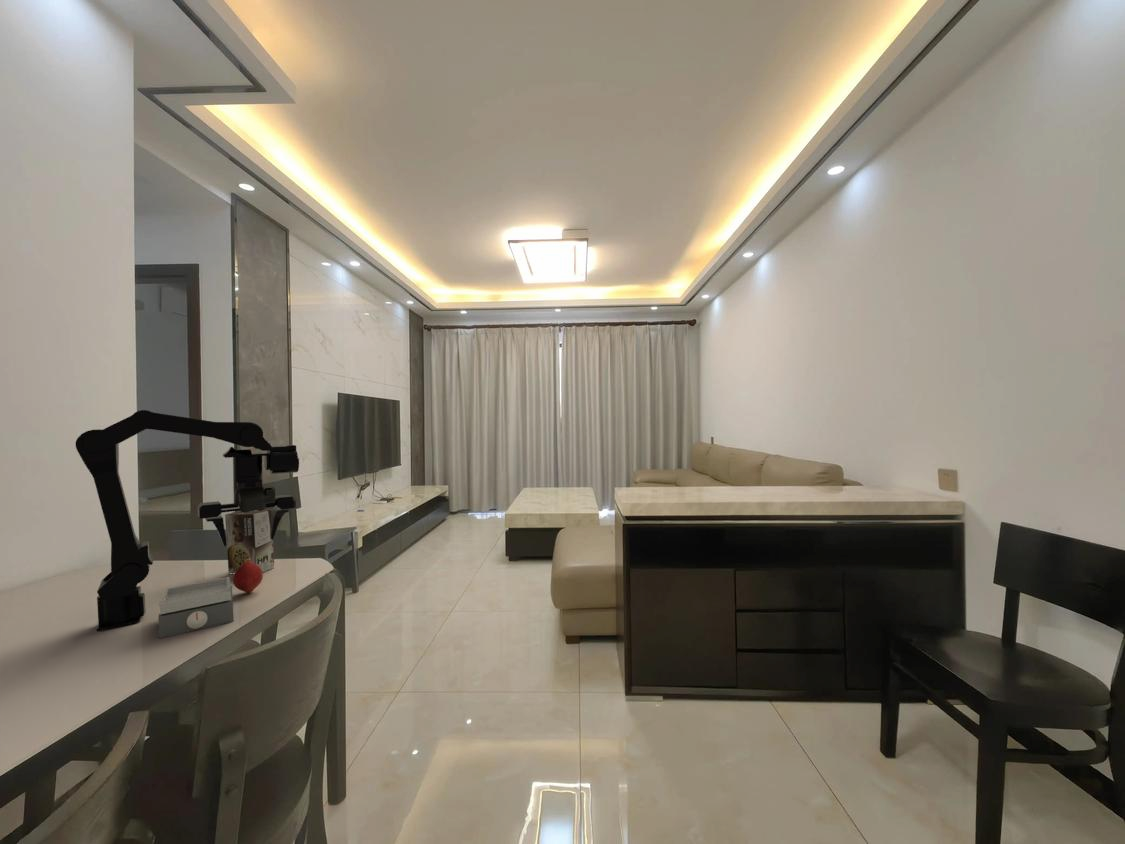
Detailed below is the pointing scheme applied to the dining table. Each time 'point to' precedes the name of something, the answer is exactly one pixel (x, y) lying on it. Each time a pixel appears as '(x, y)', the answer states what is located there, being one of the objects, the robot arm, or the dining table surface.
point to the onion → (247, 576)
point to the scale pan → (195, 595)
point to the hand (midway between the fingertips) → (249, 542)
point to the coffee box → (249, 539)
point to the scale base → (195, 618)
